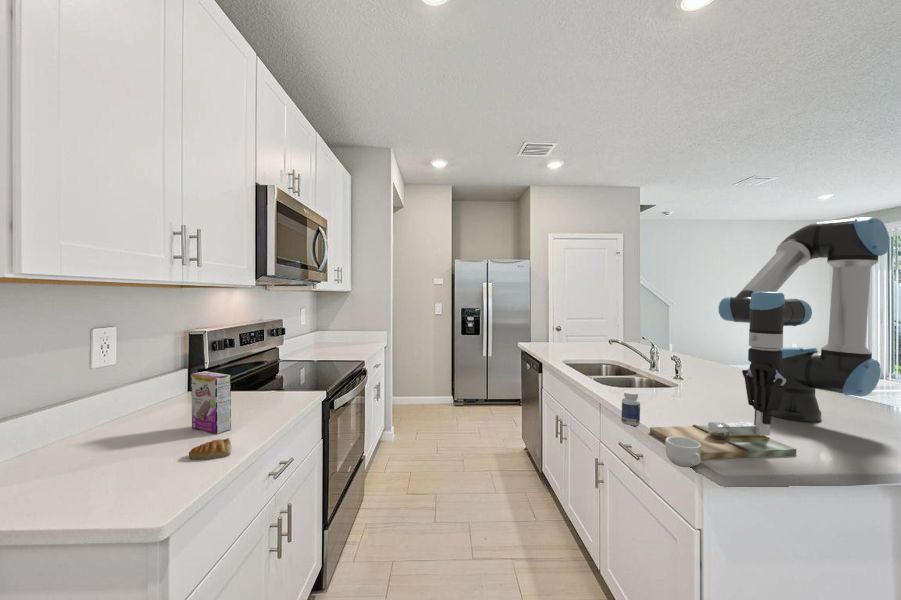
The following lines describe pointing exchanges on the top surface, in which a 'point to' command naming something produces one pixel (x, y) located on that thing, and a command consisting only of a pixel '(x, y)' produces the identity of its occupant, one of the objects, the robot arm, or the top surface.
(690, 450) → the teacup
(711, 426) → the latch arm
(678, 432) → the door board
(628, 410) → the pill bottle
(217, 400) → the candy bar box
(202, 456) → the pastry
